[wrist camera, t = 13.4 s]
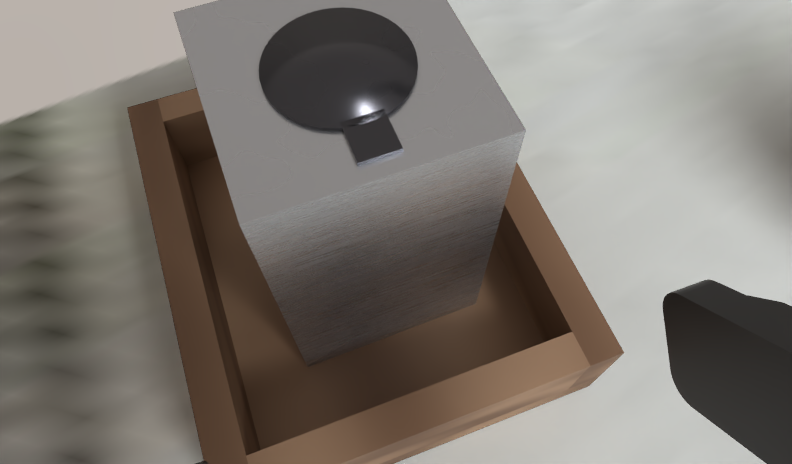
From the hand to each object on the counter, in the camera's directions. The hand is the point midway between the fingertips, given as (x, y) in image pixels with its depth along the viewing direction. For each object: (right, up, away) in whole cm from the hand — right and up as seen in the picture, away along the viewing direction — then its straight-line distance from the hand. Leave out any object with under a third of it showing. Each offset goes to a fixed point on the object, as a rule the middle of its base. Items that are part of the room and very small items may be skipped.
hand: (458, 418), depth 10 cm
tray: (-2, +2, +11) cm, 12 cm away
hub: (-2, +2, +10) cm, 11 cm away
